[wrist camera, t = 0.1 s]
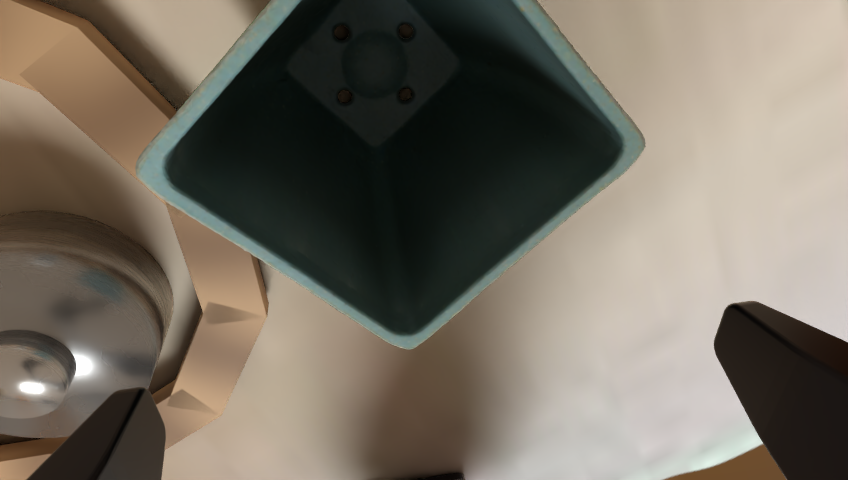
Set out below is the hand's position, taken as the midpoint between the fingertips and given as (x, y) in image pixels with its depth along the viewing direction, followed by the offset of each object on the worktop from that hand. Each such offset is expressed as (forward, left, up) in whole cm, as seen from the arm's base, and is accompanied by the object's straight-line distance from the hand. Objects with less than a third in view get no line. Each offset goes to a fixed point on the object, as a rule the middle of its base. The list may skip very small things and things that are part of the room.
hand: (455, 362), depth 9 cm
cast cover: (-8, +14, -15) cm, 22 cm away
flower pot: (+1, 0, -15) cm, 15 cm away
